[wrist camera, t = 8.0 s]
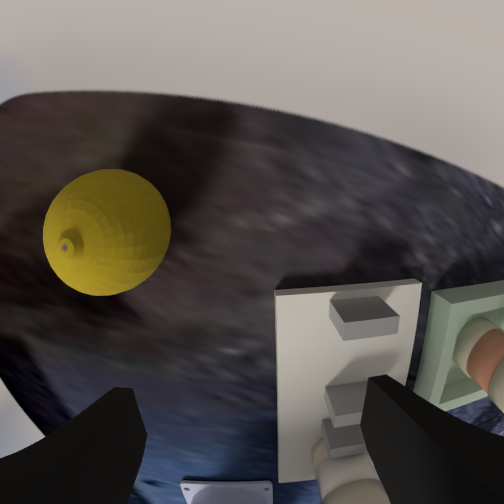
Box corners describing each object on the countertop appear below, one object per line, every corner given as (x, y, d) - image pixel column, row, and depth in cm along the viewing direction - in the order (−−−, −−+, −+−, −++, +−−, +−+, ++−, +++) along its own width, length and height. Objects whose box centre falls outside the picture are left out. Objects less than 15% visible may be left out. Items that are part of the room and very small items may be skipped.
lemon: (154, 152, 16) (87, 133, 9) (202, 238, 18) (169, 282, 10) (81, 204, 17) (-8, 222, 9) (126, 283, 18) (59, 344, 10)
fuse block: (378, 458, 22) (392, 490, 18) (277, 474, 22) (281, 510, 18) (414, 278, 18) (447, 299, 14) (274, 290, 18) (281, 318, 14)
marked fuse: (484, 359, 19) (534, 404, 12) (446, 371, 19) (495, 425, 12) (496, 312, 18) (554, 351, 12) (457, 321, 18) (518, 368, 12)
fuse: (359, 459, 20) (382, 523, 14) (309, 467, 20) (322, 537, 14) (367, 425, 20) (398, 494, 13) (312, 434, 20) (330, 510, 13)
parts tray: (491, 374, 20) (506, 387, 18) (411, 398, 20) (424, 417, 18) (514, 278, 18) (534, 287, 16) (431, 291, 18) (451, 304, 16)
